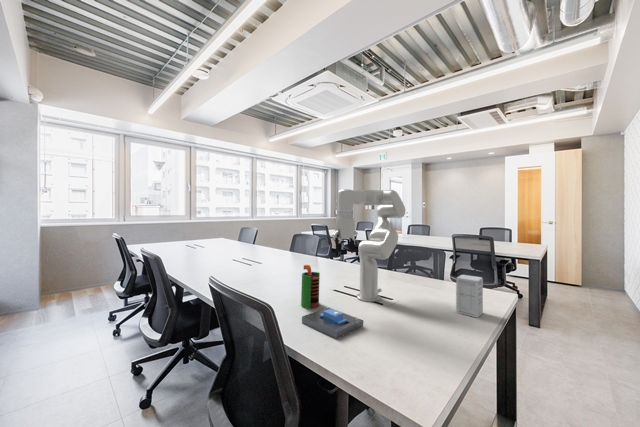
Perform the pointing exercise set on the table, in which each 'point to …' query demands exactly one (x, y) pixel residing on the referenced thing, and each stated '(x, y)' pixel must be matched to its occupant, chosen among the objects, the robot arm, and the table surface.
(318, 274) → the motor
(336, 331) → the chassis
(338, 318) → the servo
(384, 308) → the table surface
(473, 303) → the supplement box
